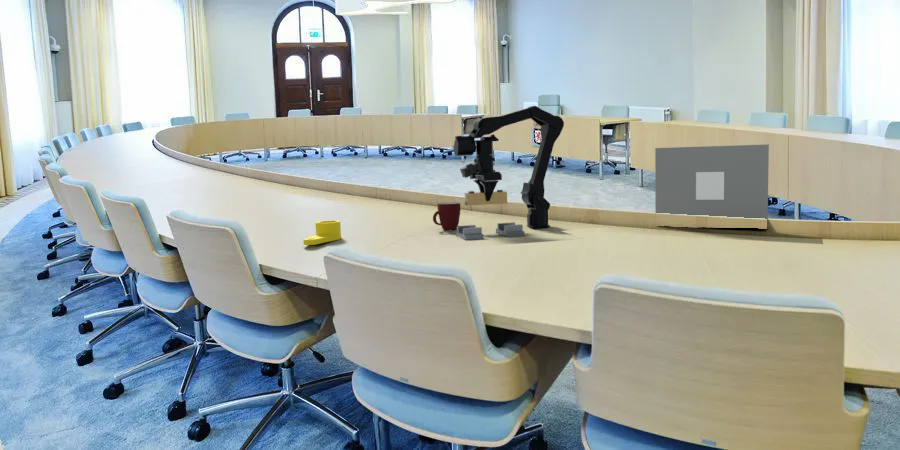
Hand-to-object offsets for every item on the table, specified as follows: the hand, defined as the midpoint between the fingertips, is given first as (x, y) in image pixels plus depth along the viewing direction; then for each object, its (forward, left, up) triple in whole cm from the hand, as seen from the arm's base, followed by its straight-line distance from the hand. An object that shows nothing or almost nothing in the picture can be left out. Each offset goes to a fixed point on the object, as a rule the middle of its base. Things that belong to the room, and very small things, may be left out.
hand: (486, 200), depth 237 cm
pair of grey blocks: (+2, +10, -11) cm, 15 cm away
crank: (+56, -8, -11) cm, 58 cm away
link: (0, 0, -1) cm, 1 cm away
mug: (+12, -9, -11) cm, 19 cm away
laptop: (-77, +17, -12) cm, 80 cm away
